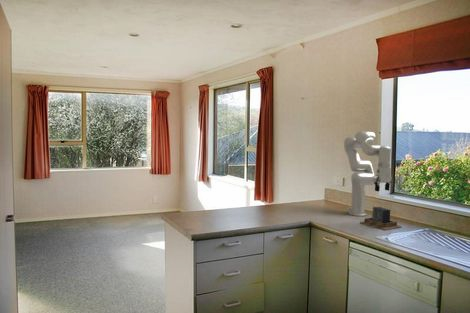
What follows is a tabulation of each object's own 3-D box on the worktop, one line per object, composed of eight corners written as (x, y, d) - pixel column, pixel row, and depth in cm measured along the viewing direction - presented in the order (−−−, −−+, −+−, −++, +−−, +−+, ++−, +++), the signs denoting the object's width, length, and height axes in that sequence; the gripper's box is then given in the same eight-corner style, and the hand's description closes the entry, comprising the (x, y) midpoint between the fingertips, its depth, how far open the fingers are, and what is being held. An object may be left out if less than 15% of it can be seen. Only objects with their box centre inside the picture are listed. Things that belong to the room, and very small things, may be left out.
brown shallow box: (360, 223, 257) (360, 218, 256) (376, 221, 265) (376, 216, 265) (385, 230, 239) (385, 224, 239) (401, 227, 248) (401, 222, 247)
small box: (390, 225, 248) (391, 209, 248) (381, 226, 246) (382, 210, 246) (379, 221, 258) (380, 206, 258) (371, 222, 256) (372, 206, 256)
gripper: (379, 166, 244) (377, 192, 246) (397, 165, 253) (395, 190, 254) (370, 164, 251) (368, 190, 252) (387, 164, 259) (386, 189, 261)
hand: (382, 190), depth 253 cm, fingers open, 9 cm apart
